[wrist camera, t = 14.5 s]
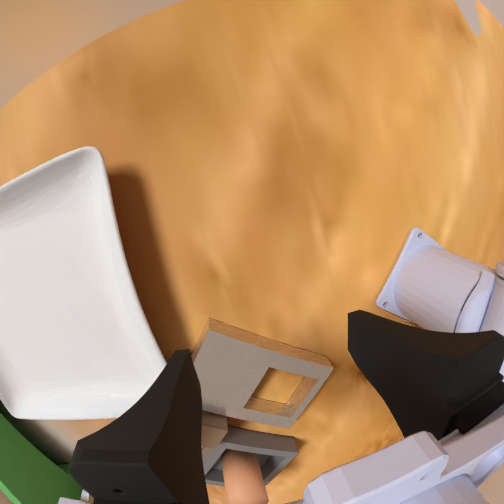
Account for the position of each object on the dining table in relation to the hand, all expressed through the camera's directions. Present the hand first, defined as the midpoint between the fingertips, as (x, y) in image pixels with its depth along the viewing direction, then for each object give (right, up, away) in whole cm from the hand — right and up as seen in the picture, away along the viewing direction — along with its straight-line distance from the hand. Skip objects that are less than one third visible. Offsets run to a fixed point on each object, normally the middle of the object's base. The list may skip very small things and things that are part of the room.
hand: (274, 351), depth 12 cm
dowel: (-2, -18, +15) cm, 24 cm away
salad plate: (-19, 0, +8) cm, 21 cm away
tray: (-2, -19, +15) cm, 24 cm away
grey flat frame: (-1, -7, +12) cm, 14 cm away
